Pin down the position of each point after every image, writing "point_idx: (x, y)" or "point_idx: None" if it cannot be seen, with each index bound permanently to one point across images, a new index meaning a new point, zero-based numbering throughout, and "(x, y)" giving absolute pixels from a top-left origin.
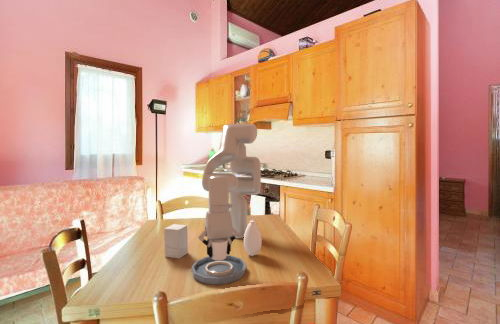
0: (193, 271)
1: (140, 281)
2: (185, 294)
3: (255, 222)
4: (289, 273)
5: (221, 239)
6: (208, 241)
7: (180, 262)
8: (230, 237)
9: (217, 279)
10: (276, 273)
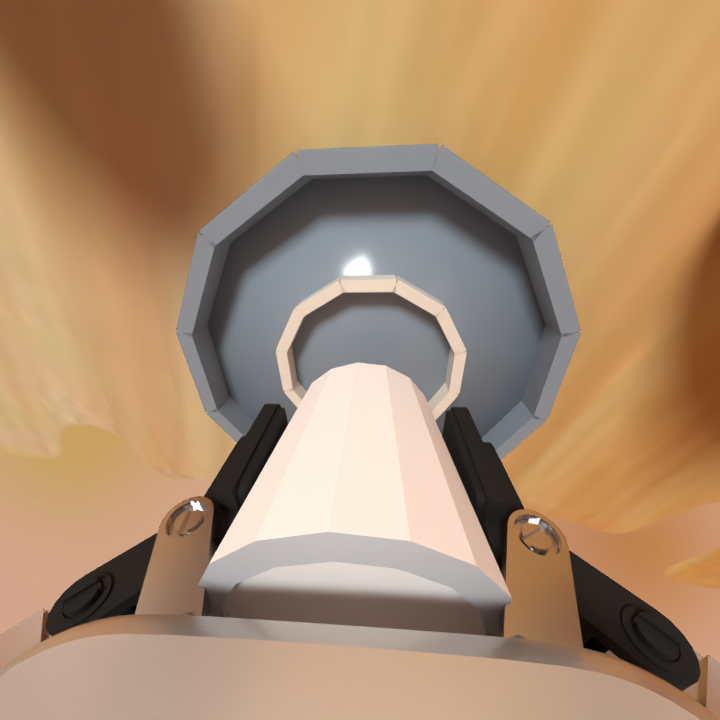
0: (198, 392)
1: None
2: (198, 473)
3: None
4: (686, 498)
5: (396, 628)
6: (186, 567)
7: (64, 53)
8: (589, 637)
9: None
10: (634, 478)
